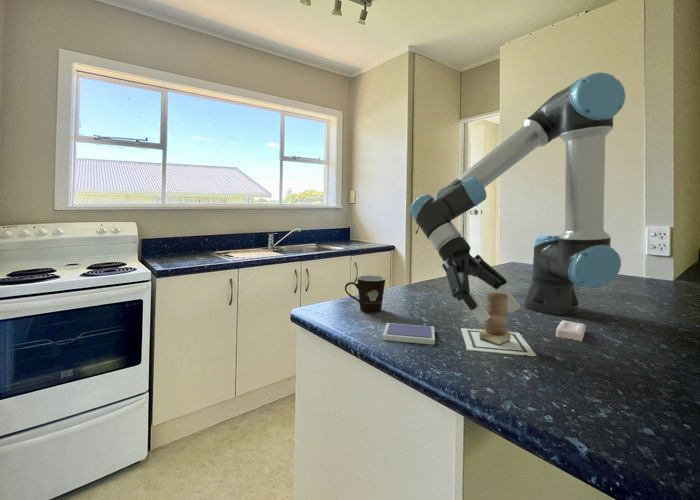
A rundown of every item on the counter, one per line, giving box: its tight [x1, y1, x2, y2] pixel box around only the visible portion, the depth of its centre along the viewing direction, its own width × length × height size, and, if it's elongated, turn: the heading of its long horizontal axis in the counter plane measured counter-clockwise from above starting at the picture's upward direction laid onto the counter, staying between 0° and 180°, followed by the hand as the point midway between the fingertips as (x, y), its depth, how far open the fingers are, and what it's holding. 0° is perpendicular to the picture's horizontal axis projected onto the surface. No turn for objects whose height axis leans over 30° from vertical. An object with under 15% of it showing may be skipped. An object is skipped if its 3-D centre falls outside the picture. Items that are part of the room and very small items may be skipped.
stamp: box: [479, 292, 511, 346], centre depth 80 cm, size 5×5×11 cm
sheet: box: [460, 327, 537, 357], centre depth 81 cm, size 14×14×1 cm
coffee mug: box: [344, 274, 386, 314], centre depth 105 cm, size 12×9×10 cm
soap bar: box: [555, 319, 586, 342], centre depth 86 cm, size 5×9×2 cm, turn 141°
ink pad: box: [382, 322, 436, 346], centre depth 84 cm, size 12×9×1 cm
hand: (501, 315), depth 79 cm, fingers open, 13 cm apart
